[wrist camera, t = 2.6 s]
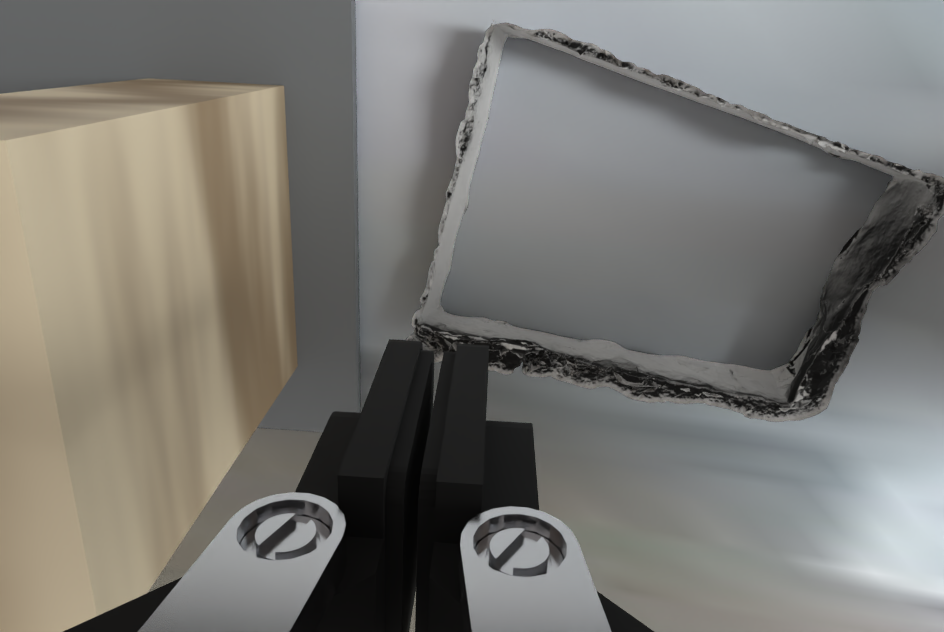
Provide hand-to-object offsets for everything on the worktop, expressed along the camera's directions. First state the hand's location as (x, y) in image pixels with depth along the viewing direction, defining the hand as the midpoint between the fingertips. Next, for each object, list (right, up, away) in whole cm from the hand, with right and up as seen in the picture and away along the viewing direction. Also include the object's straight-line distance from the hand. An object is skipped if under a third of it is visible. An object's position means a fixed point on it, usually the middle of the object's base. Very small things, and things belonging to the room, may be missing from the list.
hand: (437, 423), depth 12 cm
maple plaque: (-7, +4, +10) cm, 13 cm away
